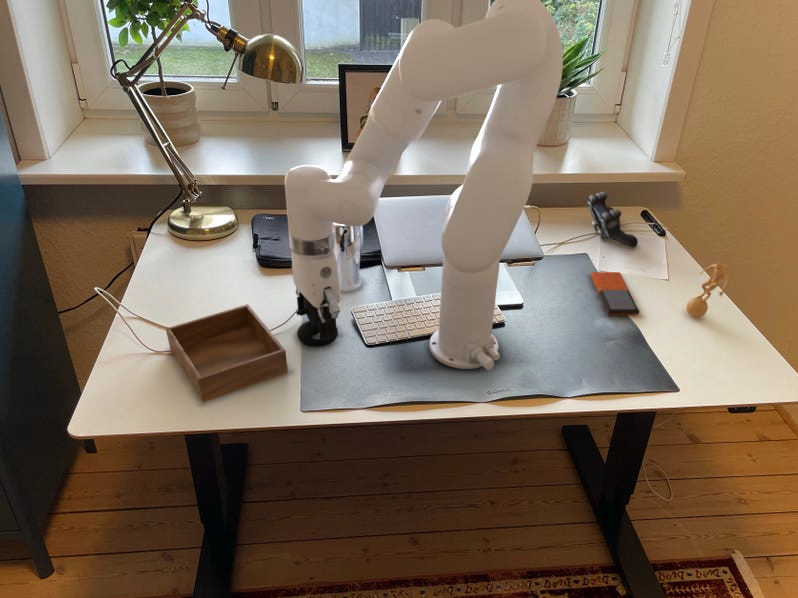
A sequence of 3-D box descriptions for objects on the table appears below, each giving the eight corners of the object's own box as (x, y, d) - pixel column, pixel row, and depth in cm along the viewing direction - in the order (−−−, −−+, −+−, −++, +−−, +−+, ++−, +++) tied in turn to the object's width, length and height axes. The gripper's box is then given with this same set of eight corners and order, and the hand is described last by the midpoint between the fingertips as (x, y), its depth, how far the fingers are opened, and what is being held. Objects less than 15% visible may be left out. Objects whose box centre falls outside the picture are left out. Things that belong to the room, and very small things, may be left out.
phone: (620, 270, 158) (640, 311, 146) (619, 276, 159) (639, 316, 147) (590, 270, 158) (608, 311, 146) (589, 276, 158) (607, 316, 147)
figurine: (676, 304, 151) (691, 252, 144) (703, 302, 152) (720, 251, 145) (694, 328, 145) (711, 275, 137) (723, 326, 146) (741, 273, 138)
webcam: (345, 341, 137) (343, 295, 131) (307, 352, 134) (303, 306, 128) (328, 319, 142) (325, 274, 136) (291, 329, 139) (286, 284, 133)
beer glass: (358, 295, 149) (356, 228, 140) (325, 290, 150) (321, 223, 141) (367, 277, 154) (367, 211, 145) (335, 272, 155) (332, 207, 146)
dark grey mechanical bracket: (589, 226, 181) (576, 194, 175) (615, 213, 180) (603, 180, 174) (613, 261, 169) (600, 227, 163) (641, 247, 168) (629, 212, 162)
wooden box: (288, 372, 129) (285, 350, 126) (202, 402, 122) (198, 379, 119) (251, 325, 140) (248, 303, 136) (170, 350, 133) (165, 328, 130)
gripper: (356, 257, 122) (358, 343, 133) (309, 213, 133) (314, 296, 144) (315, 269, 118) (320, 356, 129) (269, 223, 129) (278, 307, 140)
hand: (317, 324), depth 136 cm, fingers closed on webcam, 7 cm apart
